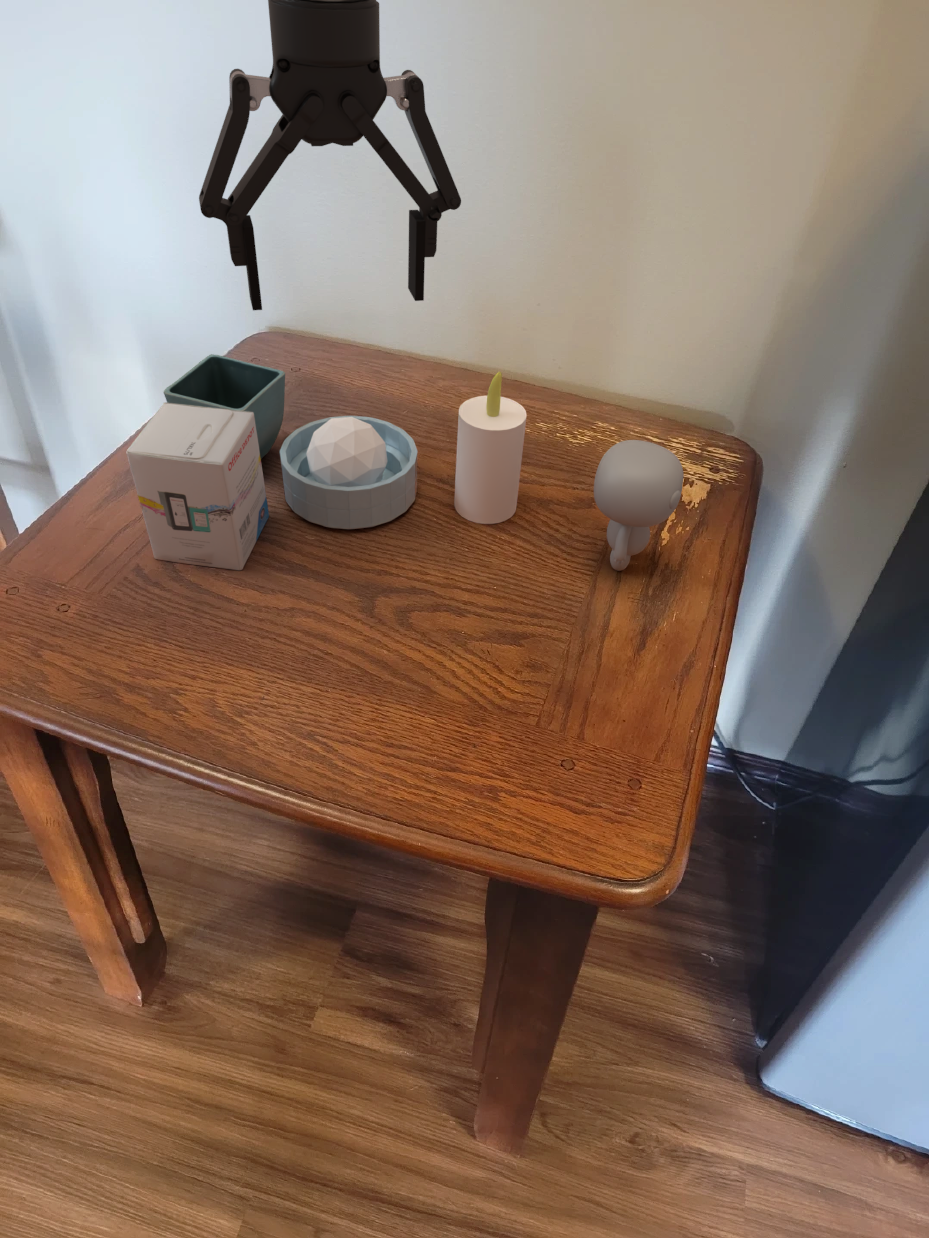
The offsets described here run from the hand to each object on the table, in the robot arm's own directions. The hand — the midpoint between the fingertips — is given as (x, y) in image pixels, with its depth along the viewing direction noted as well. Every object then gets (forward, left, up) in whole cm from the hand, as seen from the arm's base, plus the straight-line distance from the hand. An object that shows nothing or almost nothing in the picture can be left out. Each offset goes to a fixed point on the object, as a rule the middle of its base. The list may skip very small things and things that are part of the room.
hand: (337, 299), depth 72 cm
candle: (+11, +8, -20) cm, 25 cm away
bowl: (0, 0, -20) cm, 20 cm away
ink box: (-4, -14, -20) cm, 25 cm away
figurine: (+26, +10, -20) cm, 35 cm away
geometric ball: (0, 0, -20) cm, 20 cm away
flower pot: (-13, -4, -20) cm, 24 cm away
